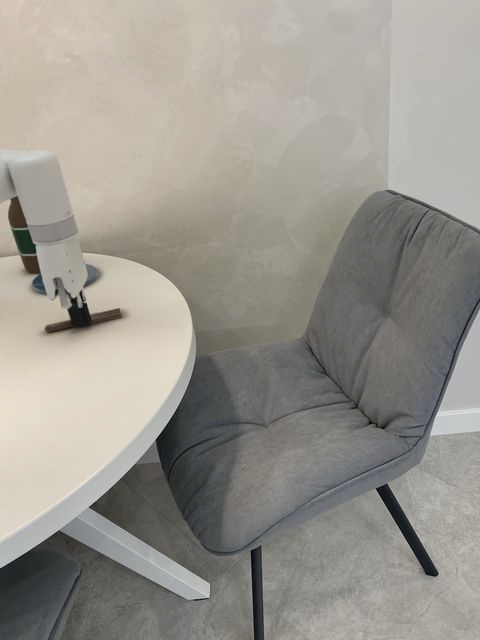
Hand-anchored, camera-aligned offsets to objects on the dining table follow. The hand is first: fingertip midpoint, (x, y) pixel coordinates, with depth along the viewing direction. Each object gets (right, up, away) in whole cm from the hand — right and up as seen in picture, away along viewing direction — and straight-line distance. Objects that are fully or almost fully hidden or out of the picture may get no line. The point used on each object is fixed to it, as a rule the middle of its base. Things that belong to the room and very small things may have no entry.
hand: (82, 324), depth 101 cm
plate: (-10, +11, +20) cm, 25 cm away
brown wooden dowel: (0, 0, +2) cm, 2 cm away
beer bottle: (-19, +15, +28) cm, 37 cm away
